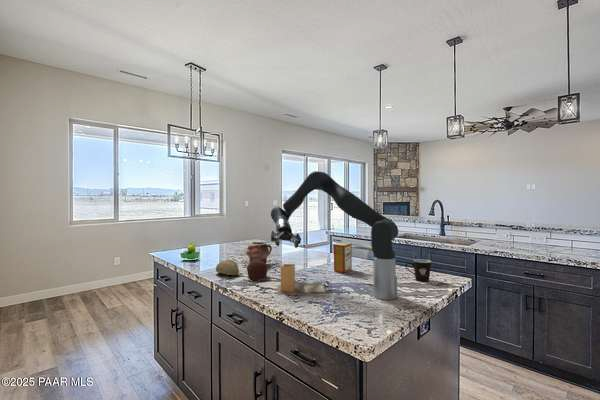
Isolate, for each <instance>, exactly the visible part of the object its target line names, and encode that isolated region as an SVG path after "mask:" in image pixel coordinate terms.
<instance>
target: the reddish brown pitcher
mask: <svg viewBox="0 0 600 400" xmlns="http://www.w3.org/2000/svg"><path fill="white" fill-rule="evenodd" d="M272 250H273V248H272V245H271V244H268V243H267V242H264V241H263V242H262V241H261V242H260V241H256V242H255V241H253V242H251V243H249V245H248V246H247V248H246V251H245V254H246V255H247V257H248V258H249V263H250V262H252V261H255V260H260V261H263V262H265V263H266V264H267V261H268V258H269V256H270V254H271V252H272Z"/></svg>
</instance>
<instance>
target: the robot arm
mask: <svg viewBox="0 0 600 400" xmlns="http://www.w3.org/2000/svg"><path fill="white" fill-rule="evenodd" d="M316 190H317V191H322V192H324V193H325V194H328V195H329V196H330V197H331V198H332V199H333V201H334V203H335V204H336V206H337V207H338V208H339V209H340V210H342V212H343V213H345V214H347V215H348V216H349V217H351V218H353V219H356V220H357V221H360V222H363V223H364V224H366V225H368V226H369V227H370V228H371V231H370V238H371V239H370V241H371V242H370V243H371V250H372V253H373V297H375V298H376V299H379V300H385V301H387V300H388V301H390V300H394V299H398V275H396V274H397V273H396V251H395V249H394V248H393V240H394V239H396V238H397V237H398V235H399V228H398V226H397V224H396V223H395V222H394V221H393V220H392V219H389V218H388V217H386V216H384V215H382V214H381V213H379V212H377V210H374V209H373V208H372V207H371V206H369V204H367V203H365V202H364V201H363V200H362V199H360V198H359V197H358V196H356V195H355V194H354V193H353V192H350V191H349V190H348V189H346V188H345V187H344V186H342V185H340V184H339V183H337V182H336V180H335V179H333V177H331V176H330V175H329V174H328V173H326V172H325V171H312V172H310V173H309V174H308V175H307V176H306V178H305V180H303V182H302V183H301V185H299V187H298V188H297V189H296V191H295V192H294V193H293V194H292V195H291V196H290V197H289V198H288V199H287V200H286V201H284V203H283V204H282V207H283V208H281V207H280V206H275V207H273V208H272V209H271V211H270V217H271V219H272V220H273V223H275V231H276V232H275V231H274V230H272V231H271V233H270V241H271V242H274V243H275V246H277V247H280V242H281V241H288V242H289V243H290V244H294V248H295V249H297V248H299V245H301V241H302V238H301V235H300V233H296V234H294V233H293V231H292V227H291V224H290V222H289V219H290V218H291V216H292V215H293V214H294V212H295V211H296V210H297V209H299V207H300V206H301V205H302V204H303V203H304V200H305V198H306V197H307V196H308V194H310V193H311V192H313V191H316Z"/></svg>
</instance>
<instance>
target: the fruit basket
mask: <svg viewBox="0 0 600 400" xmlns="http://www.w3.org/2000/svg"><path fill="white" fill-rule="evenodd" d="M200 253H201V252H200V251H196V245H195V243H193V242H191V243H190V244H189V245H188V246H187V251H183V252H180V253H179V254H180V257H181V259H182V258H187V259H195V258H198V259H199V257H200Z"/></svg>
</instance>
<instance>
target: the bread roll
mask: <svg viewBox="0 0 600 400" xmlns="http://www.w3.org/2000/svg"><path fill="white" fill-rule="evenodd" d="M215 271H216V273H217V272H218V274H221V273H222V274H221V275H225V274H226V276H228V275H236V276H238V274H239V271H240V269H239V266H238V263H237V262H236V261H234V260H232V259H225V260H222V261H220V262H219V263H218V264H216V267H215Z"/></svg>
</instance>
